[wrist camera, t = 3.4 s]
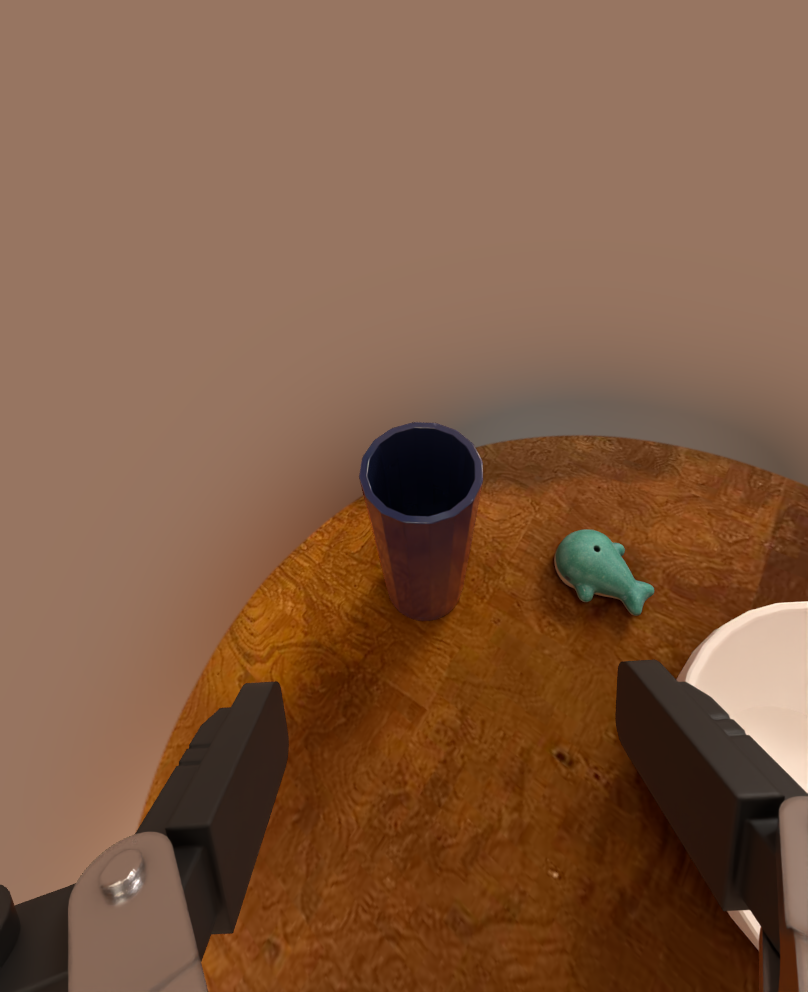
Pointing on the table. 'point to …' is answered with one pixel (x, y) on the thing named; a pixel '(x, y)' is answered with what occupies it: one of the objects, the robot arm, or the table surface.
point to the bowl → (760, 690)
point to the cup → (422, 513)
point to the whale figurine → (599, 570)
